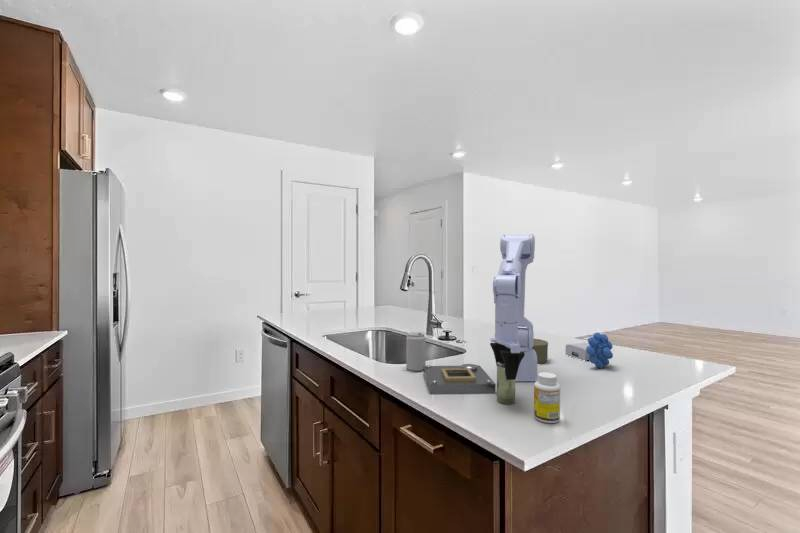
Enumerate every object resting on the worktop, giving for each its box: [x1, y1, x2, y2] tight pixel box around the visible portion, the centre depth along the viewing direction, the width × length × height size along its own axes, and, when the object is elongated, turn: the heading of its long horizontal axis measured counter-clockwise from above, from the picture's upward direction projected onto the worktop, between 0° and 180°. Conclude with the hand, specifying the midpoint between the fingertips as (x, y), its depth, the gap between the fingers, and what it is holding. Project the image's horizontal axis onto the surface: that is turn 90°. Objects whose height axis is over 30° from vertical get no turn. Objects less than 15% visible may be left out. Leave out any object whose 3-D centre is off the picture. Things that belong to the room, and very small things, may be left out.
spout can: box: [496, 362, 517, 406], centre depth 99 cm, size 5×5×10 cm
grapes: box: [586, 332, 614, 369], centre depth 128 cm, size 12×7×12 cm, turn 114°
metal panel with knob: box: [422, 363, 497, 395], centre depth 113 cm, size 18×18×4 cm
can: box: [531, 338, 549, 365], centre depth 138 cm, size 12×12×7 cm
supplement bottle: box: [533, 371, 561, 424], centre depth 88 cm, size 6×6×10 cm
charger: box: [565, 342, 590, 362], centre depth 144 cm, size 5×9×15 cm
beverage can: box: [405, 331, 427, 372], centre depth 127 cm, size 6×6×12 cm
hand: (506, 374), depth 99 cm, fingers open, 7 cm apart
